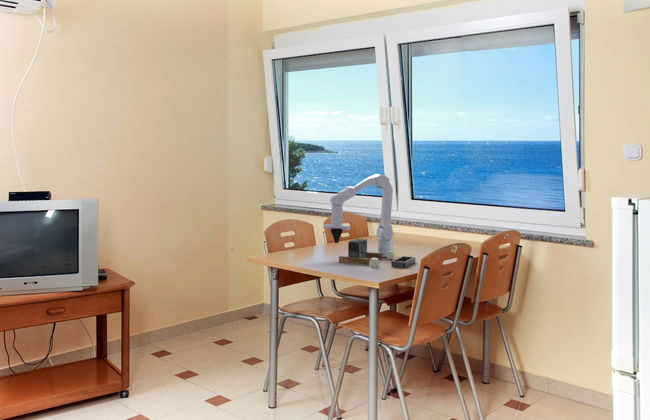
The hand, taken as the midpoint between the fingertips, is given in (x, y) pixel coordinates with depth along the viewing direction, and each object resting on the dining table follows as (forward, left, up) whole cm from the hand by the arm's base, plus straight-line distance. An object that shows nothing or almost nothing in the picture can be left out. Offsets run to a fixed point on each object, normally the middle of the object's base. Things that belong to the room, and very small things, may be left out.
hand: (336, 242), depth 331 cm
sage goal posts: (0, +26, -8) cm, 27 cm away
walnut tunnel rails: (0, +14, -8) cm, 16 cm away
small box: (0, +12, -8) cm, 15 cm away
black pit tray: (0, +37, -8) cm, 38 cm away
